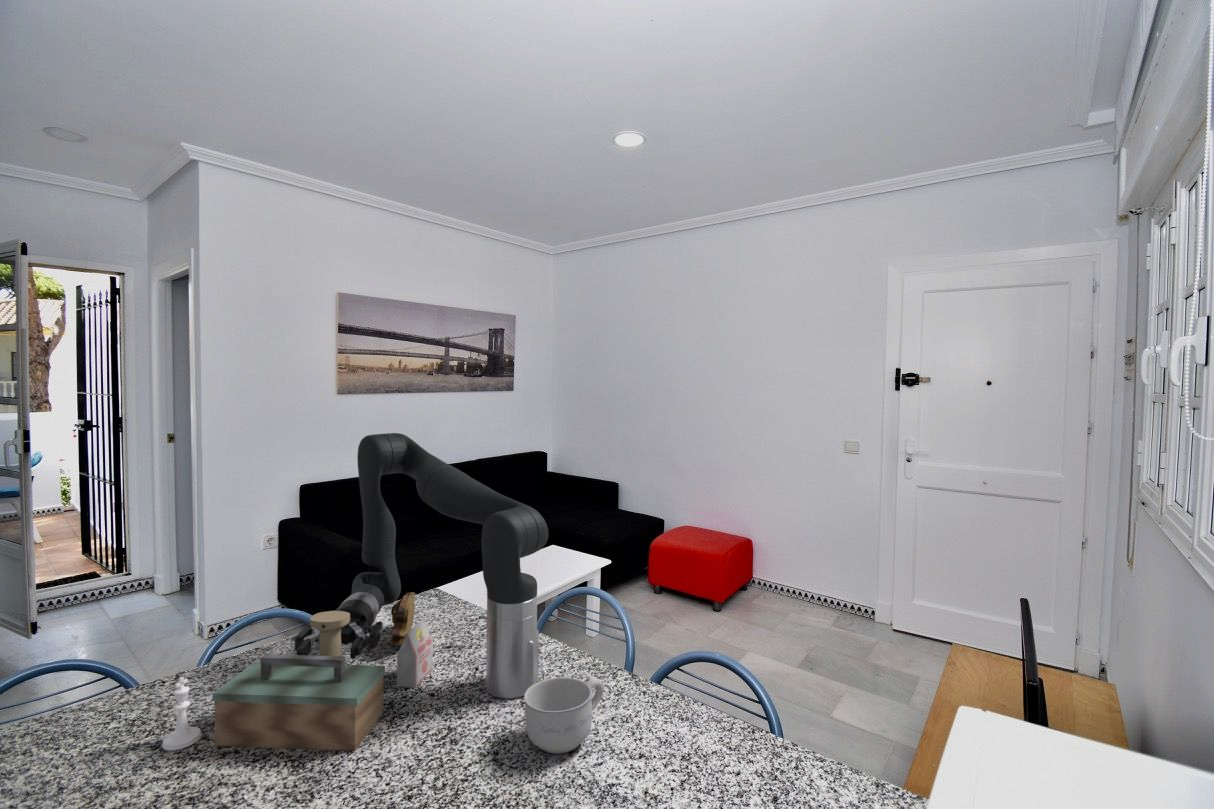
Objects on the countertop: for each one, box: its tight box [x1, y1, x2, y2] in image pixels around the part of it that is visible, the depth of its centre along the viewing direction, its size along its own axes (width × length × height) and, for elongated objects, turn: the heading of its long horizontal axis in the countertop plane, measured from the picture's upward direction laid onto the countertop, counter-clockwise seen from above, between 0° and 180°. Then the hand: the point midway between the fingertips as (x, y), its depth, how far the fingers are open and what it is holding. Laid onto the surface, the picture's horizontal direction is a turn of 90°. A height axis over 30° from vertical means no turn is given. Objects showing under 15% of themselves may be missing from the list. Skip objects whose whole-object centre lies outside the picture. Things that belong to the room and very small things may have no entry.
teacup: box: [523, 676, 604, 755], centre depth 90 cm, size 14×11×8 cm
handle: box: [309, 610, 350, 657], centre depth 100 cm, size 5×6×15 cm
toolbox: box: [212, 653, 386, 752], centre depth 96 cm, size 23×18×12 cm
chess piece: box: [161, 676, 202, 751], centre depth 88 cm, size 5×5×10 cm
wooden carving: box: [390, 592, 416, 646], centre depth 124 cm, size 16×5×10 cm, turn 16°
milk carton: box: [396, 619, 433, 689], centre depth 108 cm, size 4×7×10 cm, turn 171°
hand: (326, 654), depth 98 cm, fingers open, 8 cm apart
